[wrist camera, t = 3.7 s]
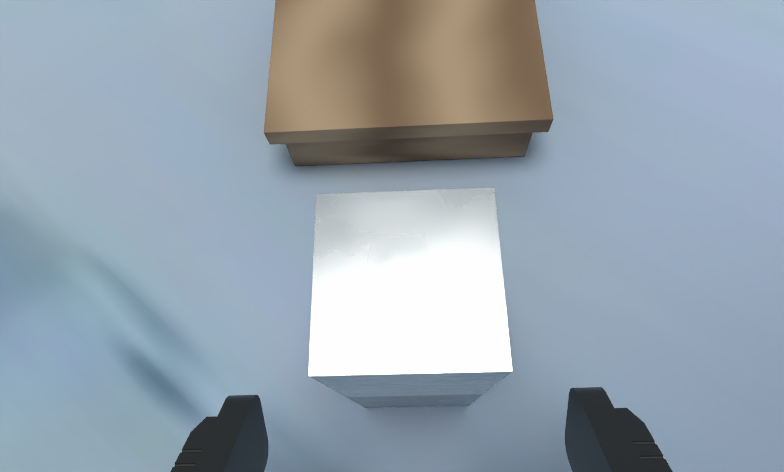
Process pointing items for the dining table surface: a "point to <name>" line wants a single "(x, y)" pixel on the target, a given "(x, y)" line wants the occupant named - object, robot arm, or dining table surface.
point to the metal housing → (408, 297)
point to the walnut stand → (405, 80)
